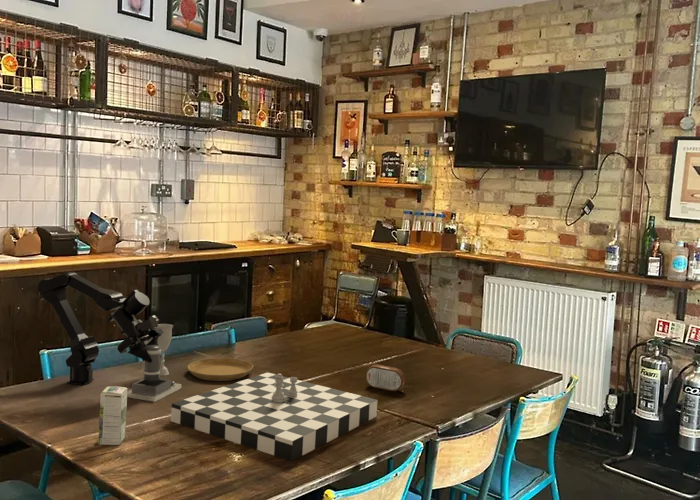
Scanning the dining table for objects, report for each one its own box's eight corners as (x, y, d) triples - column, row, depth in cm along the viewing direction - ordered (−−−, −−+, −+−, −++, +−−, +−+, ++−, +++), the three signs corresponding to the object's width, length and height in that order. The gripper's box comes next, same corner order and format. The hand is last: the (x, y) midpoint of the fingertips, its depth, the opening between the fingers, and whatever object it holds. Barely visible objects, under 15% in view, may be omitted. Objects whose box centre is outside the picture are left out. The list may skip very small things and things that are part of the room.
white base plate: (125, 396, 216) (125, 384, 216) (153, 383, 232) (153, 372, 231) (154, 401, 213) (154, 389, 213) (181, 388, 228) (181, 377, 228)
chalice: (165, 377, 240) (167, 328, 238) (148, 375, 241) (150, 326, 240) (175, 372, 247) (176, 324, 246) (158, 370, 249) (159, 323, 247)
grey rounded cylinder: (143, 381, 217) (144, 348, 216) (143, 376, 222) (144, 344, 221) (160, 381, 219) (161, 348, 218) (159, 376, 224) (160, 344, 223)
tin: (404, 391, 240) (406, 369, 239) (401, 393, 237) (403, 370, 236) (367, 384, 246) (368, 362, 245) (363, 386, 243) (365, 364, 242)
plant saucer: (174, 376, 242) (174, 368, 242) (211, 362, 265) (211, 354, 264) (230, 387, 233) (230, 378, 233) (264, 371, 256) (264, 363, 255)
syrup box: (104, 437, 182) (105, 385, 181) (126, 437, 183) (127, 386, 181) (98, 445, 176) (99, 392, 175) (120, 445, 177) (122, 392, 176)
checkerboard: (291, 463, 174) (294, 408, 172) (171, 422, 197) (172, 374, 196) (376, 418, 212) (379, 372, 210) (266, 388, 235) (268, 348, 234)
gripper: (126, 313, 211) (155, 351, 208) (159, 304, 228) (186, 339, 226) (104, 334, 214) (133, 372, 211) (139, 324, 231) (165, 359, 229)
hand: (155, 360), depth 219 cm, fingers closed on grey rounded cylinder, 5 cm apart
